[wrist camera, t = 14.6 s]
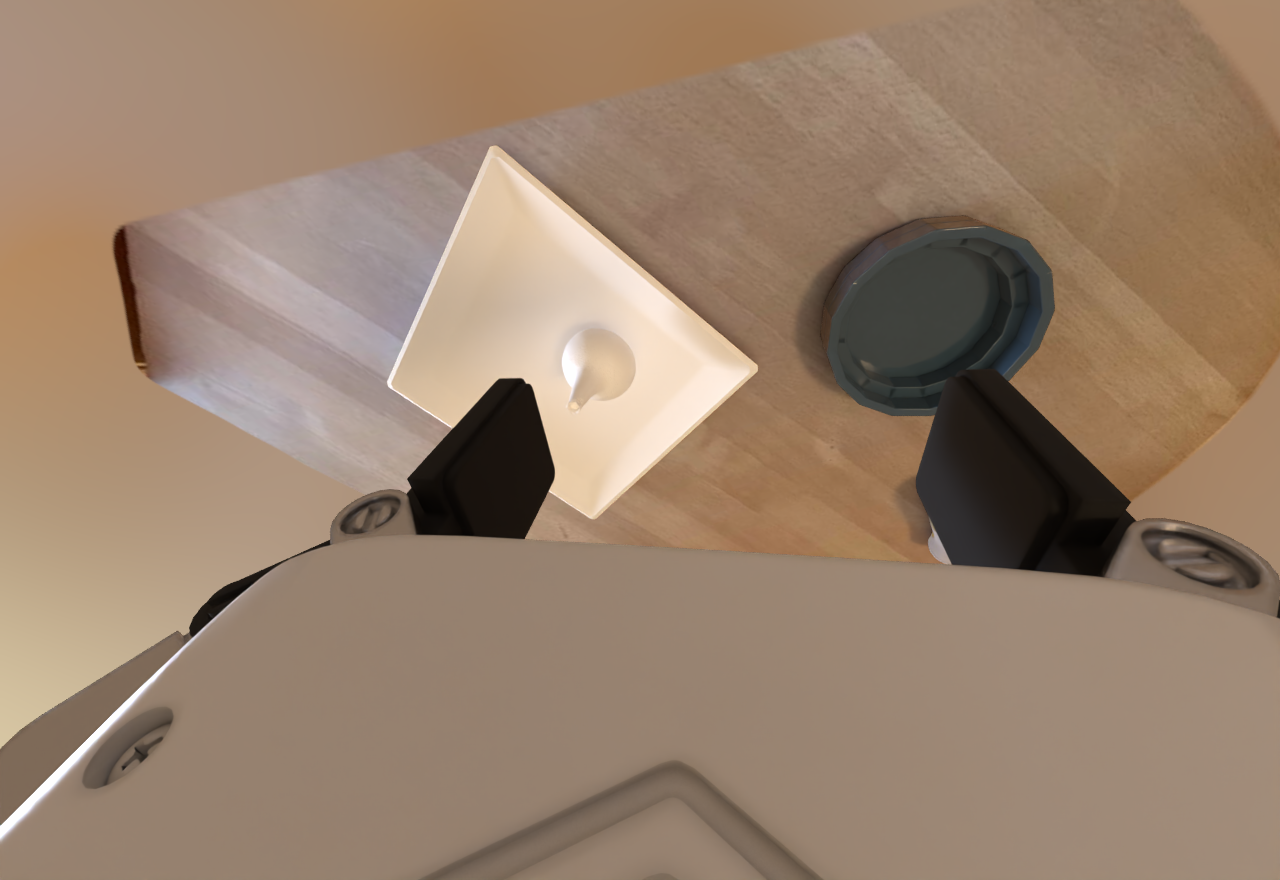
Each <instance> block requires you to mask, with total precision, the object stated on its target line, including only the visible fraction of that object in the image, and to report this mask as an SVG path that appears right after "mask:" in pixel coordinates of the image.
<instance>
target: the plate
mask: <svg viewBox="0 0 1280 880" xmlns="http://www.w3.org/2000/svg"><path fill="white" fill-rule="evenodd" d="M592 328H600V329H605V330H608V331H611V332H613V333H615V334H617V335H618V336H620V337H621V338H622V339H623V340H624V341H625V342H626V343H627V344H628V345H629V347H630V348H631V350H632V352H633V354H634V357H635V361H636V373H635V377H634V380H633V382H632V384H631V386H630V387H629V388H628V390H627V391H626V392H624V393H623V394H622V395H620V396H619V397H617V398H615V399H612V400H607V401H596V400H591V399H589V400H588V402H587V403H586V404H585V405H584V406H583V407H582V409H581V412H580V413H579V414H577V415H574V413H573V414H572V413H570V412H568V410H567V408H566V405H567V403H568V402H569V399H570V395H571V392H572V389H573V388H572V387H571V386H570V385H569V383H568V382H567V380H566V378H565V375H564V372H563V367H562V357H563V353H564V350H565V347H566V345H567V344H568V342H569V341H570V340H571V339H572V338H573V337H574V336H575V335H576V334H578V333H579V332H581V331H584V330H587V329H592ZM757 371H758V365H757V364H755V363H754V362H753V361H752V360H751V359H749V358H748V357H747V356H746V355H745V354H744V353H742V352H741V351H740V350H739V349H738V348H736V347H735V346H734V345H733V344H732V343H730V342H729V341H728V340H727V339H726V338H725V337H723V336H722V335H721V334H720V333H719V332H717V331H716V330H715V329H714V328H713V327H712V326H710V325H709V324H708V323H707V322H706V321H704V320H703V319H702V318H701V317H700V316H699V315H697V314H696V313H695V312H694V311H693V310H691V309H690V308H689V307H688V306H687V305H685V304H684V303H683V302H682V301H681V300H680V299H678V298H677V297H676V296H675V295H674V294H672V293H671V292H670V291H669V290H668V289H667V288H665V287H664V286H663V285H662V284H661V283H659V282H658V281H657V280H656V279H655V278H654V277H652V276H651V275H650V274H649V273H648V272H646V271H645V270H644V269H643V268H642V267H640V266H639V265H638V264H637V263H636V262H635V261H633V260H632V259H631V258H630V257H629V256H627V255H626V254H625V253H624V252H623V251H622V250H620V249H619V248H618V247H617V246H616V245H614V244H613V243H612V242H611V241H610V240H609V239H607V238H606V237H605V236H604V235H603V234H601V233H600V232H599V231H598V230H597V229H595V228H594V227H593V226H592V225H591V224H590V223H588V222H587V221H586V220H585V219H584V218H582V217H581V216H580V215H579V214H578V213H577V212H575V211H574V210H573V209H572V208H571V207H569V206H568V205H567V204H566V203H565V202H564V201H562V200H561V199H560V198H559V197H558V196H556V195H555V194H554V193H553V192H552V191H550V190H549V189H548V188H547V187H546V186H545V185H543V184H542V183H541V182H540V181H539V180H537V179H536V178H535V177H534V176H533V175H532V174H530V173H529V172H528V171H527V170H526V169H524V168H523V167H522V166H521V165H520V164H519V163H517V162H516V161H515V160H514V159H513V158H511V157H510V156H509V155H508V154H507V153H505V152H504V151H503V150H502V149H501V148H500V147H498V146H497V145H496V146H490V148H489V150H488V152H487V155H486V157H485V159H484V161H483V164H482V166H481V168H480V171H479V173H478V175H477V177H476V180H475V182H474V184H473V187H472V189H471V191H470V193H469V196H468V198H467V200H466V203H465V205H464V207H463V210H462V212H461V214H460V216H459V219H458V221H457V223H456V226H455V228H454V230H453V232H452V235H451V237H450V239H449V242H448V244H447V246H446V248H445V251H444V253H443V255H442V258H441V260H440V262H439V264H438V267H437V269H436V271H435V274H434V276H433V278H432V280H431V283H430V285H429V287H428V290H427V292H426V294H425V296H424V299H423V301H422V303H421V306H420V308H419V310H418V312H417V315H416V317H415V319H414V322H413V324H412V326H411V328H410V331H409V333H408V335H407V338H406V340H405V342H404V344H403V347H402V349H401V351H400V354H399V356H398V358H397V361H396V363H395V365H394V367H393V370H392V372H391V374H390V377H389V379H388V381H387V384H388V386H389V388H391V389H392V390H394V391H395V392H397V393H398V394H400V395H401V396H403V397H405V398H406V399H408V400H409V401H411V402H412V403H414V404H415V405H417V406H418V407H420V408H421V409H423V410H425V411H426V412H428V413H429V414H431V415H432V416H434V417H435V418H437V419H438V420H440V421H441V422H443V423H444V424H446V425H448V426H449V427H451V428H452V429H453V428H454V427H455V426H456V425H457V423H458V422H459V421H460V420H461V419H462V418H463V417H464V416H465V415H466V414H467V413H468V411H469V410H470V409H471V408H472V407H473V406H474V405H475V404H476V403H477V402H478V400H479V399H480V398H481V397H482V396H483V395H484V394H485V393H486V392H487V391H488V389H489V388H490V387H491V386H492V385H493V384H494V383H495V382H496V381H497V380H498V379H499V378H522V379H524V381H525V382H526V384H530V385H531V386H532V388H533V390H534V394H535V398H536V401H537V405H538V409H539V412H540V416H541V420H542V423H543V427H544V431H545V434H546V438H547V441H548V445H549V449H550V452H551V456H552V460H553V463H554V467H555V478H554V481H553V483H552V485H551V487H550V489H549V492H550V493H552V494H554V495H555V496H557V497H558V498H560V499H561V500H563V501H564V502H566V503H567V504H569V505H570V506H572V507H574V508H575V509H577V510H578V511H580V512H581V513H583V514H584V515H586V516H587V517H589V518H590V519H596V518H597V517H598V516H599V515H600V514H601V513H602V512H604V511H605V510H606V509H607V508H608V507H609V506H610V505H611V504H612V503H613V502H615V501H616V500H617V499H618V498H619V497H620V496H621V495H622V494H623V493H624V492H626V491H627V490H628V489H629V488H630V487H631V486H632V485H633V484H634V483H635V482H637V481H638V480H639V479H640V478H641V477H642V476H643V475H644V474H645V473H646V472H648V471H649V470H650V469H651V468H652V467H653V466H654V465H655V464H656V463H657V462H659V461H660V460H661V459H662V458H663V457H664V456H665V455H666V454H667V453H668V452H669V451H671V450H672V449H673V448H674V447H675V446H676V445H677V444H678V443H679V442H680V441H682V440H683V439H684V438H685V437H686V436H687V435H688V434H689V433H690V432H691V431H693V430H694V429H695V428H696V427H697V426H698V425H699V424H700V423H701V422H702V421H704V420H705V419H706V418H707V417H708V416H709V415H710V414H711V413H712V412H713V411H715V410H716V409H717V408H718V407H719V406H720V405H721V404H722V403H723V402H724V401H726V400H727V399H728V398H729V397H730V396H731V395H732V394H733V393H734V392H735V391H737V390H738V389H739V388H740V387H741V386H742V385H743V384H744V383H745V382H746V381H748V380H749V379H750V378H751V377H752V376H753V375H754V374H755V373H756V372H757ZM575 414H576V413H575Z"/></svg>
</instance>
